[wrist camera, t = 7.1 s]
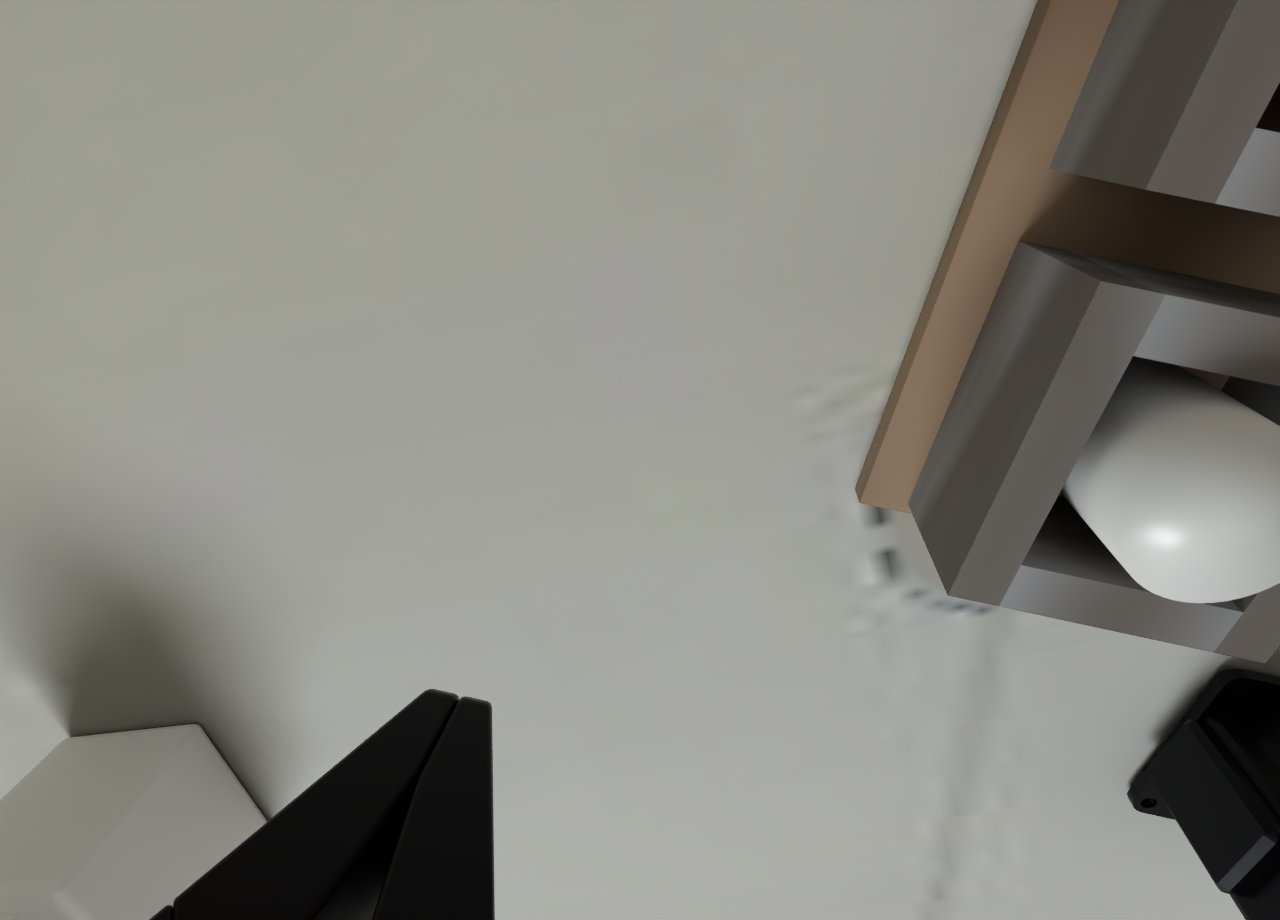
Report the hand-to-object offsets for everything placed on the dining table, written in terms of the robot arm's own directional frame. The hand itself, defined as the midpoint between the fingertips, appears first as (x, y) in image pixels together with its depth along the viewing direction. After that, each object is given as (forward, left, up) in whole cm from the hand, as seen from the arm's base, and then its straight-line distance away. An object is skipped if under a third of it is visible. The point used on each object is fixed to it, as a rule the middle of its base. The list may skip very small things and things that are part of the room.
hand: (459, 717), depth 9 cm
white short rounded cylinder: (-13, -2, -11) cm, 17 cm away
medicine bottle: (+16, +23, -13) cm, 31 cm away
